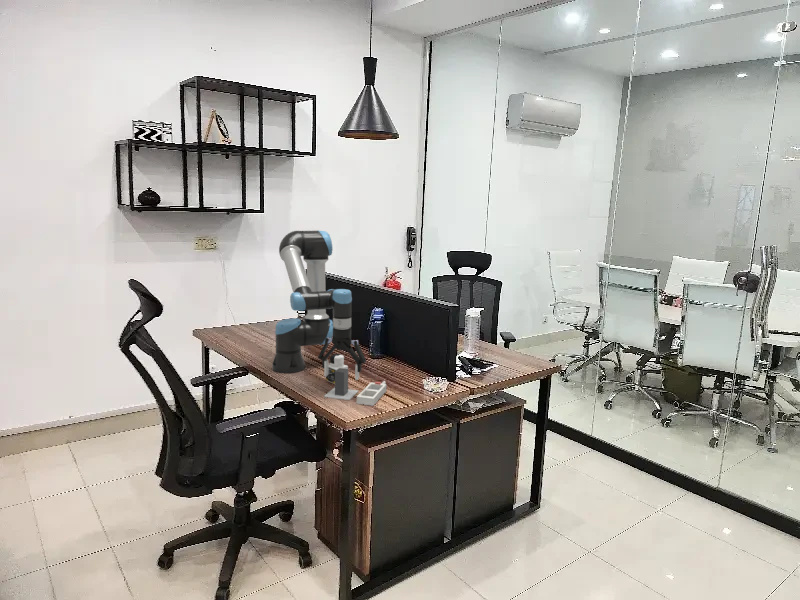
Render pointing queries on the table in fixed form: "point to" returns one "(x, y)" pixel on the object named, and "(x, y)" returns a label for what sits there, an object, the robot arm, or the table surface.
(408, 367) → the table surface
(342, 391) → the block
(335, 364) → the medicine bottle
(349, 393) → the mat
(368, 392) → the power strip
